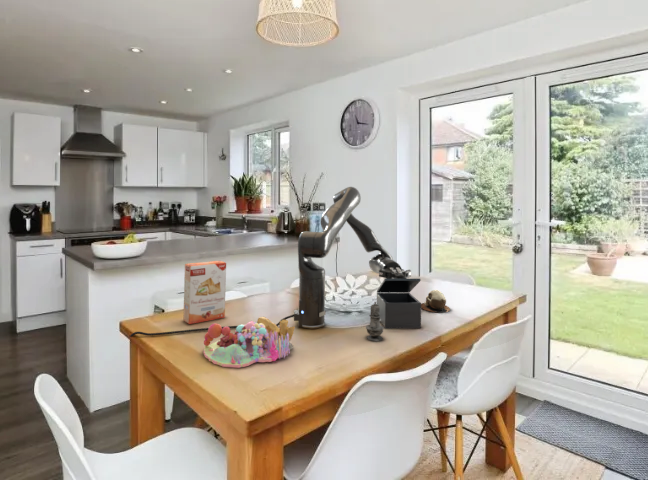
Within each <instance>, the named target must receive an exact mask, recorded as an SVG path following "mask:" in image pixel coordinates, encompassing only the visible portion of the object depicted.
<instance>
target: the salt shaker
mask: <svg viewBox="0 0 648 480" xmlns="http://www.w3.org/2000/svg"><path fill="white" fill-rule="evenodd" d="M379 313H380V307H379V305H377V301H374V303H373V304H371V305H370V314H369V317H370V318H369V319H370V320H369V324H367V325H366V326H365V329H366V332H367V334H368V335H367V336H366V340H368V341H371V342H381V341H383V340H384V338H383V336H381V335H382V334H383V332H384V330H385V328H384V326H383V325H382V324H381V322H380V317H381V316H380V315H379Z"/></svg>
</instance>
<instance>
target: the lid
mask: <svg viewBox="0 0 648 480" xmlns="http://www.w3.org/2000/svg"><path fill="white" fill-rule="evenodd" d="M421 281H422V279H421V278H406V279H386V278H384V279H383V281H382V282H381V284H380V285H379V287H378V288H377V289H376V294H377V293H410V294H411V292H412V291H413V289H415V288H416V286H417V285H418V284H419V283H420V282H421Z"/></svg>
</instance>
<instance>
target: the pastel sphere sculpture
mask: <svg viewBox="0 0 648 480" xmlns="http://www.w3.org/2000/svg"><path fill="white" fill-rule="evenodd" d="M281 320H282V319H281ZM279 321H280V320H279ZM276 324H277V323H274V322H272V321H271V320H270V319H269V318H267V317H265V316H259V317H258V318H257V320H256V321H253V320H250V321H248V322H247V323H246V324H238V325H236V326H237V328H235V330H234V333H233V332H232V330H231V328H229V327H225V326H222V325H221V324H219V323H215V322H214V323H212V324H210V325H209V327H207V328H208V330H207V332H206V333H205V334H204V340H203V345H204V348H203V356H204V358H206V359H208V361H209V362H212V364H214V365H217V366H220V367H223V368H240V369H241V368H246V367H249V366H250V365H253V364H254V363H266V362H267V363H271V362H276V361H277V360H278V359H279V360H281V359H286V356H287V357H288V355H290V353H291V350H292V349H293V348H294V345H293V342H290V341H291V340H292V337H293V335H294V334H295V333H294V332H295V327H296V326H288V325H289V320H288V319H286V320H282V321H280V325H278V326H276ZM222 327H224V328H223V329H222ZM221 336H222V337H221ZM218 338H220V339H219V340H217V341H214V342H212V341H213V340H214V339H218ZM211 342H212V343H211Z"/></svg>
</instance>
